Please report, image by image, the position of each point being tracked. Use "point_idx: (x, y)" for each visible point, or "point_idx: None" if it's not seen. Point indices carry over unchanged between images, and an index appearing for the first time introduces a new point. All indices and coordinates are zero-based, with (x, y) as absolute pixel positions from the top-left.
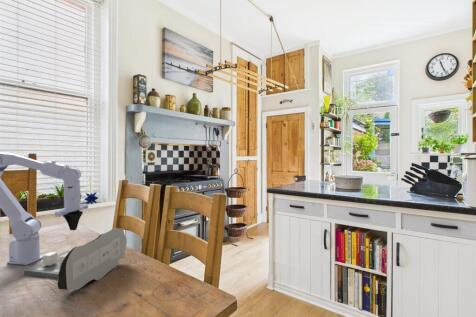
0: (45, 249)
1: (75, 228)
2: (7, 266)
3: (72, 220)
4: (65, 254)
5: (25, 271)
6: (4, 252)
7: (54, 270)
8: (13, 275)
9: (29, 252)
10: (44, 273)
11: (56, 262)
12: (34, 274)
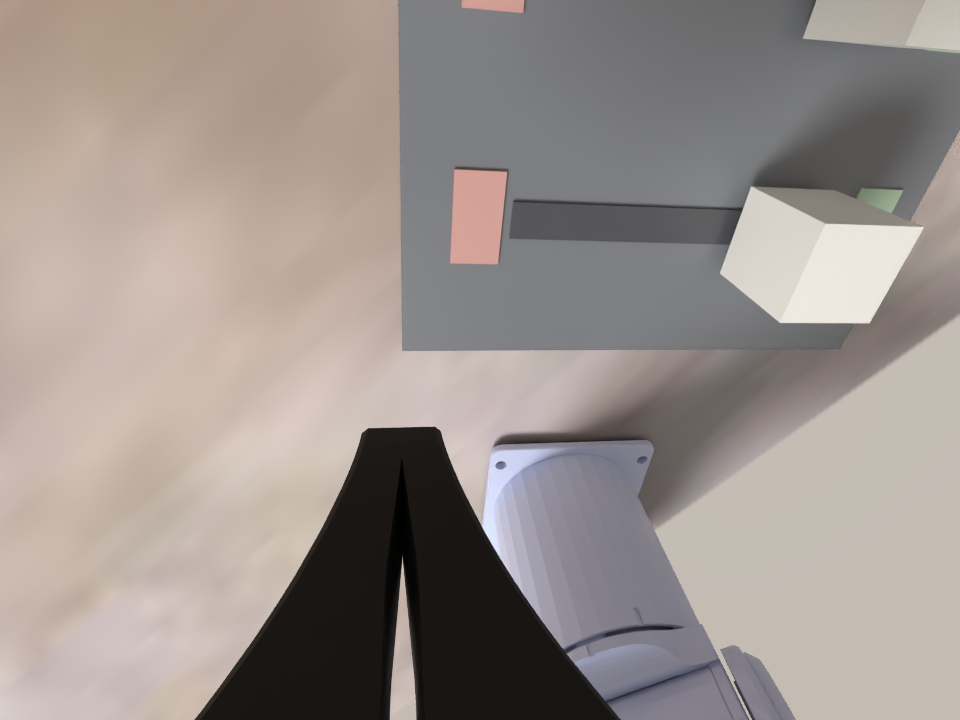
0: None
1: (411, 442)
2: (652, 520)
3: (552, 666)
4: (955, 22)
5: (839, 332)
6: None
7: None
8: (806, 386)
9: (641, 520)
10: (950, 128)
11: (720, 208)
12: None
